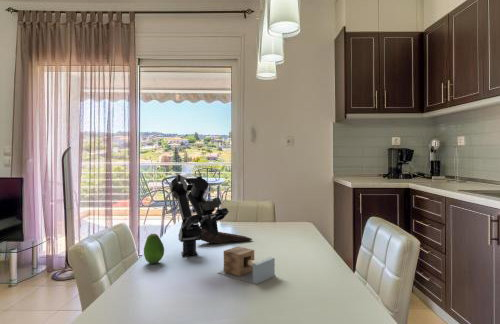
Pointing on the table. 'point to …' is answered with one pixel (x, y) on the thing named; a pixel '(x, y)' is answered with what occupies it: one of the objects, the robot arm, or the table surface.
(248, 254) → the walnut block
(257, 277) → the gray angle bracket
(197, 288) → the table surface
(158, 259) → the fruit
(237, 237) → the stone
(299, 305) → the table surface
